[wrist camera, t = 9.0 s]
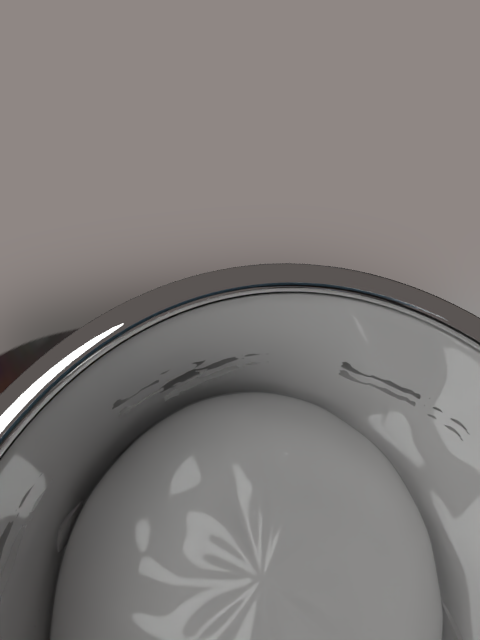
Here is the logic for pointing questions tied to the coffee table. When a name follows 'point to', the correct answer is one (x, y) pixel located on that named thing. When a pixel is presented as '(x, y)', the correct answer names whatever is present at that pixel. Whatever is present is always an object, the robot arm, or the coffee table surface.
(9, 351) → the coffee table surface
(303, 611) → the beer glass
